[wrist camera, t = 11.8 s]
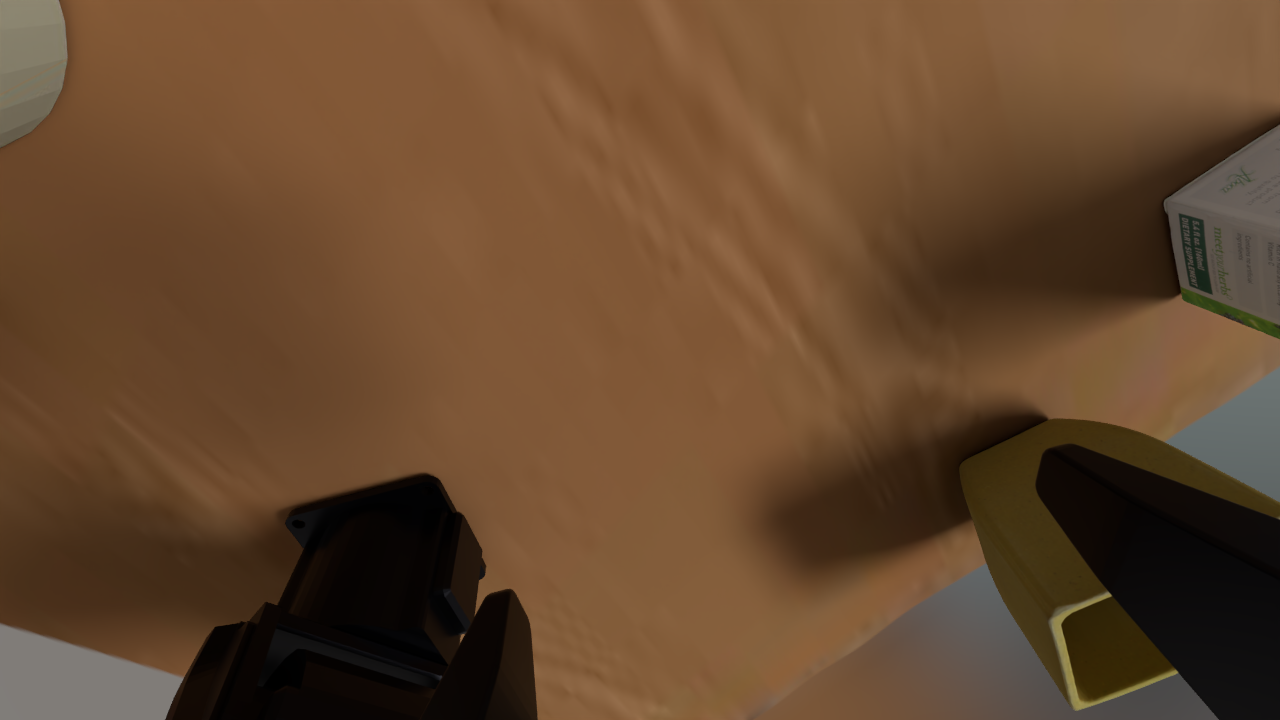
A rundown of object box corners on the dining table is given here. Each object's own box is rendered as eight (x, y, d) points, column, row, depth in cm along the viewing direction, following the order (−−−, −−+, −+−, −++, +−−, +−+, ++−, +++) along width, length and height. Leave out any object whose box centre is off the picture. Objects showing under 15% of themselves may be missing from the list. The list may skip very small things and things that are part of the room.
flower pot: (947, 552, 32) (1075, 718, 24) (909, 456, 27) (1051, 621, 20) (1098, 481, 31) (1284, 632, 23) (1083, 368, 26) (1307, 508, 18)
